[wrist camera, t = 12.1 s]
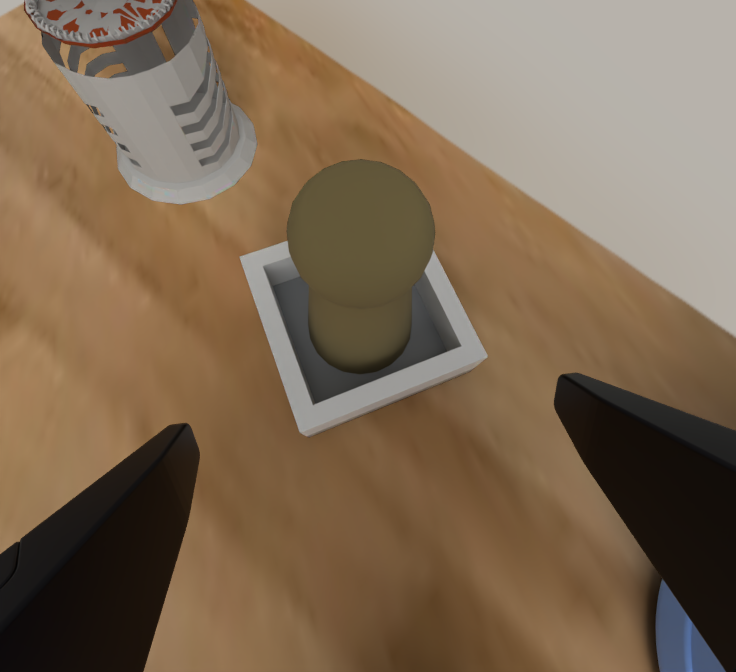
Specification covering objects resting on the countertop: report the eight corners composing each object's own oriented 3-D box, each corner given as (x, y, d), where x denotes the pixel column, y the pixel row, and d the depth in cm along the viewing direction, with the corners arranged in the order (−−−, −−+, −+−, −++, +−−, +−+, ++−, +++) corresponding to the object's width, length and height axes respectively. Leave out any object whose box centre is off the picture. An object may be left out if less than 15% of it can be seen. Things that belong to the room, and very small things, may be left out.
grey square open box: (469, 371, 23) (488, 356, 20) (308, 437, 22) (300, 433, 18) (401, 234, 26) (407, 200, 22) (255, 284, 24) (239, 256, 21)
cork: (372, 396, 21) (385, 332, 11) (286, 334, 22) (223, 221, 12) (431, 313, 23) (492, 188, 13) (349, 259, 24) (342, 101, 14)
